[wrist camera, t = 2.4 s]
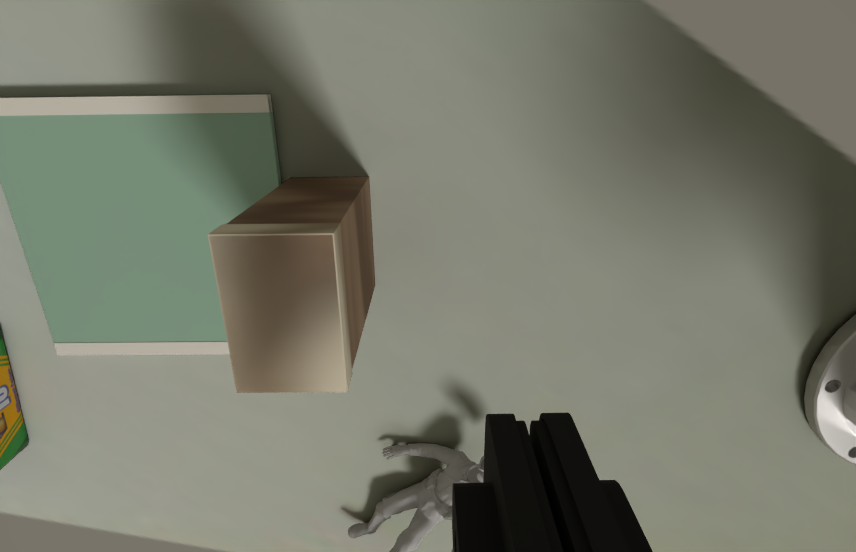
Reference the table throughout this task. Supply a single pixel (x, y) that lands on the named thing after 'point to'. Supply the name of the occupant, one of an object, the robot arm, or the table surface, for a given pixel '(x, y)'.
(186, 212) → the mat
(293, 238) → the walnut block
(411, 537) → the soldier figure
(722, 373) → the table surface
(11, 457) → the chalk box
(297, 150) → the table surface
